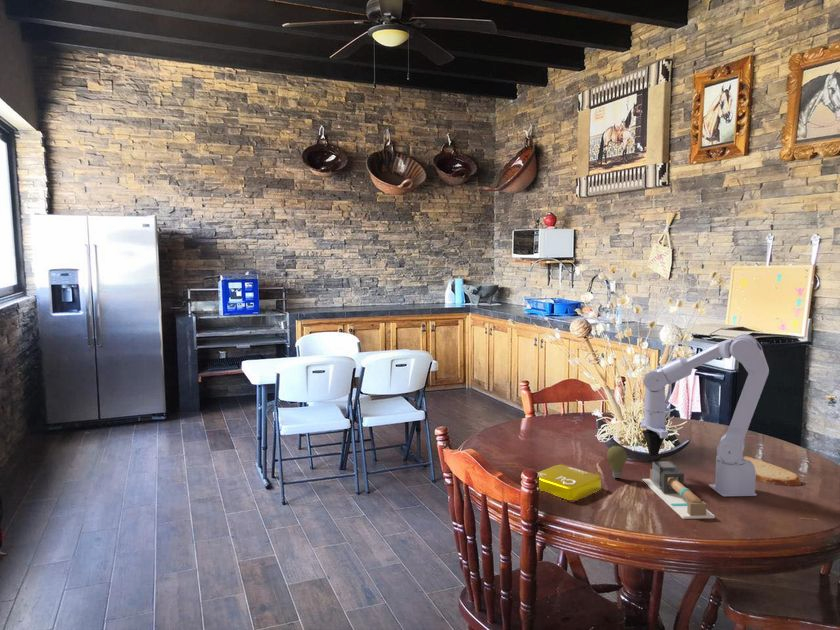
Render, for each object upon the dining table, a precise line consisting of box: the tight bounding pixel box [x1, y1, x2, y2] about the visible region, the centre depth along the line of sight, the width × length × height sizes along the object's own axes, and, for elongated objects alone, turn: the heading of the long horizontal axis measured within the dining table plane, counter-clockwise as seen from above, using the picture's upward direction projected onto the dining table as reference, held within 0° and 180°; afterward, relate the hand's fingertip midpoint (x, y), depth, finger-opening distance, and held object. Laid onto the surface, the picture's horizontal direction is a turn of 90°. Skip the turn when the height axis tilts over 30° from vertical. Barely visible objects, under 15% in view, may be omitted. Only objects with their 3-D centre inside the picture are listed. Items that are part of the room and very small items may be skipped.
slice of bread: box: [743, 455, 802, 487], centre depth 178 cm, size 18×18×4 cm
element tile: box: [537, 463, 602, 500], centre depth 168 cm, size 15×15×5 cm
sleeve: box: [651, 460, 679, 488], centre depth 167 cm, size 5×5×6 cm
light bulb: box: [606, 445, 628, 479], centre depth 175 cm, size 6×6×10 cm
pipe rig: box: [642, 468, 716, 520], centre depth 160 cm, size 26×8×5 cm, turn 1°
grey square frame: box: [662, 471, 685, 493], centre depth 162 cm, size 1×5×5 cm, turn 91°
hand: (653, 455), depth 175 cm, fingers closed
